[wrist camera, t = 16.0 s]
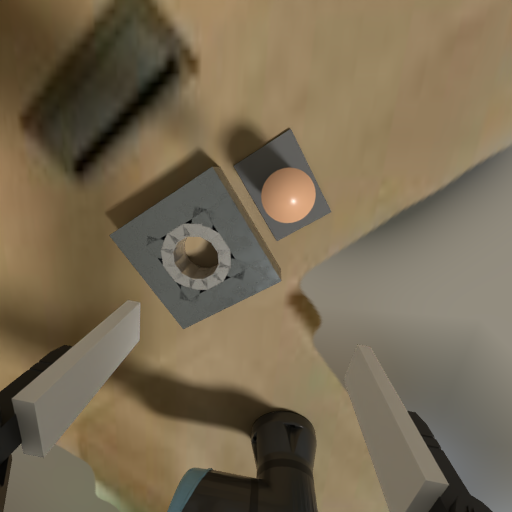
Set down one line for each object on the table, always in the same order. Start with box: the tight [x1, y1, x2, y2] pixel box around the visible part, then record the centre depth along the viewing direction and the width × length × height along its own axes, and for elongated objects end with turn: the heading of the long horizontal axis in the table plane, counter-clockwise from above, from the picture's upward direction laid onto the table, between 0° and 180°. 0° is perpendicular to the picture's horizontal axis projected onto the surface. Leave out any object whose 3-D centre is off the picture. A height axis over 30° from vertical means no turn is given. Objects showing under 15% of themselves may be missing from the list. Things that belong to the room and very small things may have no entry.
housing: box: [109, 167, 281, 329], centre depth 40 cm, size 20×20×5 cm
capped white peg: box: [261, 168, 316, 223], centre depth 32 cm, size 6×6×11 cm
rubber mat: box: [234, 129, 331, 241], centre depth 38 cm, size 14×10×1 cm
